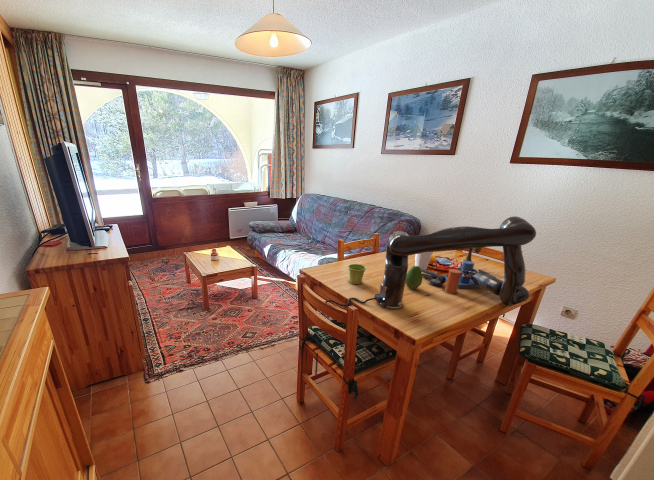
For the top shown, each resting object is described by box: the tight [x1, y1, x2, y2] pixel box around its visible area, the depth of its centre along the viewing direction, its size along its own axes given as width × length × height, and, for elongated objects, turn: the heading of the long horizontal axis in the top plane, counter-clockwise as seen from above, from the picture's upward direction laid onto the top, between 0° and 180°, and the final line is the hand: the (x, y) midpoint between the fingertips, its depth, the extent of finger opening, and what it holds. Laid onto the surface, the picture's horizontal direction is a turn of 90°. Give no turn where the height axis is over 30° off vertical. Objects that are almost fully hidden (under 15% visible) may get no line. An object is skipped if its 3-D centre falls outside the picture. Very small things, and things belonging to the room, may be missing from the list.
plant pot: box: [347, 263, 367, 285], centre depth 163 cm, size 9×9×9 cm
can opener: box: [421, 269, 447, 287], centre depth 165 cm, size 18×7×6 cm, turn 12°
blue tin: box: [459, 261, 475, 284], centre depth 162 cm, size 5×5×11 cm
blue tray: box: [442, 274, 480, 289], centre depth 164 cm, size 16×14×2 cm
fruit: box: [405, 265, 423, 290], centre depth 155 cm, size 8×8×12 cm
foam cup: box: [414, 252, 434, 270], centre depth 182 cm, size 10×9×13 cm
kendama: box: [460, 247, 483, 268], centre depth 181 cm, size 6×10×20 cm, turn 28°
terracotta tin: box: [444, 268, 461, 295], centre depth 152 cm, size 5×5×11 cm
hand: (463, 269), depth 164 cm, fingers closed on blue tin, 5 cm apart
